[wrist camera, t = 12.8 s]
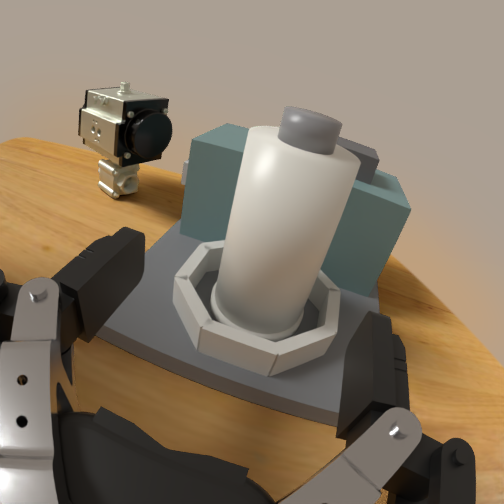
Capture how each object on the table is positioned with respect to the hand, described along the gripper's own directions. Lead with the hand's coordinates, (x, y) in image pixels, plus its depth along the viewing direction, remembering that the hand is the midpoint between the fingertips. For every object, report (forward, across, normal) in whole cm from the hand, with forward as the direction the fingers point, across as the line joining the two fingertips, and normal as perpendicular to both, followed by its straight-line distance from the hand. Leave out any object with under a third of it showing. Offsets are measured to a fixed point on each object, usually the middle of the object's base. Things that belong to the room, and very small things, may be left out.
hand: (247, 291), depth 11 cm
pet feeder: (+11, 0, +9) cm, 14 cm away
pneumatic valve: (+19, +19, +9) cm, 28 cm away
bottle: (+7, 0, +8) cm, 11 cm away
